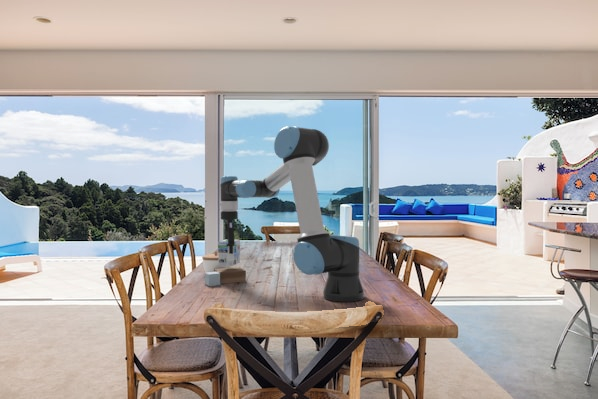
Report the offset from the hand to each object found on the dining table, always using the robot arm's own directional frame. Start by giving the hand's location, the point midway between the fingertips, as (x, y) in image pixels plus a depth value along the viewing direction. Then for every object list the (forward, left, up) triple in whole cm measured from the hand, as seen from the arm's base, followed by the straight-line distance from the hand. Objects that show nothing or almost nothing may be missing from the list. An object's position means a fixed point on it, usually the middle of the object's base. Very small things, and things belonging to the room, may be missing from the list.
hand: (229, 258), depth 199 cm
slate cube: (-8, +8, -10) cm, 15 cm away
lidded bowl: (+14, +5, -10) cm, 18 cm away
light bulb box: (0, 0, -3) cm, 3 cm away
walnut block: (0, 0, -10) cm, 10 cm away
